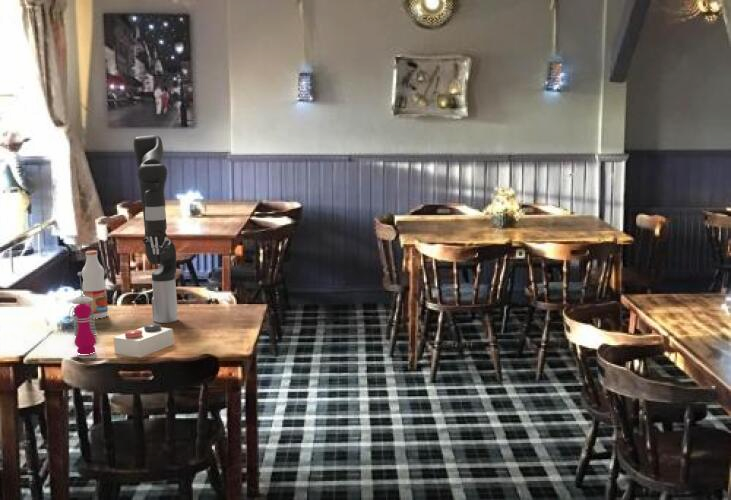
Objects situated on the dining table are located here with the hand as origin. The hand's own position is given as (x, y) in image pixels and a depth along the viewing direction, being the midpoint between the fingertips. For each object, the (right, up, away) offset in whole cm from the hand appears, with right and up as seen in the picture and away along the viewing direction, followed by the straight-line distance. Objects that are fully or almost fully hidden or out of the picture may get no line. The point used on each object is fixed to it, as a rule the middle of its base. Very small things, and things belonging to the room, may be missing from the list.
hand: (158, 263), depth 354 cm
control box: (-3, -31, -8) cm, 32 cm away
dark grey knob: (-1, -28, -4) cm, 28 cm away
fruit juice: (-35, -23, +42) cm, 60 cm away
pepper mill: (-24, -32, -12) cm, 42 cm away
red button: (-6, -30, -13) cm, 33 cm away
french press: (-32, -28, +14) cm, 45 cm away
